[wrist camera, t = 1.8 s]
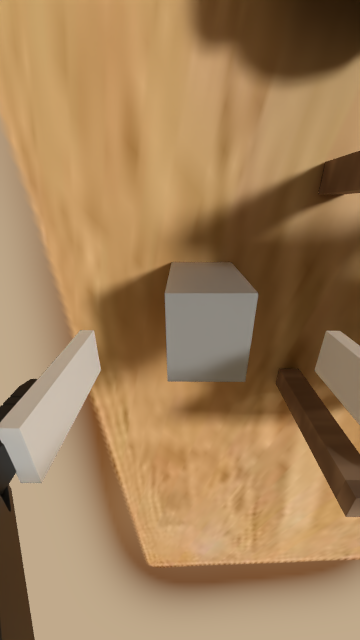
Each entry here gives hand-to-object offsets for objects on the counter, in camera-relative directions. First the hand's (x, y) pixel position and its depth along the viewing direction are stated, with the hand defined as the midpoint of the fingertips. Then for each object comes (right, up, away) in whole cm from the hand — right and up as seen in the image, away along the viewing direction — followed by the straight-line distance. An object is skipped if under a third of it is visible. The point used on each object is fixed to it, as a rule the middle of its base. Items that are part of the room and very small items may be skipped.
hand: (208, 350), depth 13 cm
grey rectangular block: (0, +4, +7) cm, 8 cm away
